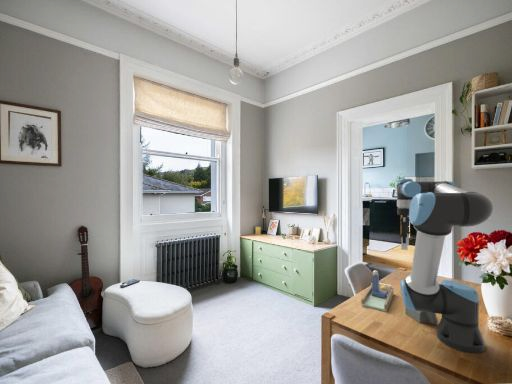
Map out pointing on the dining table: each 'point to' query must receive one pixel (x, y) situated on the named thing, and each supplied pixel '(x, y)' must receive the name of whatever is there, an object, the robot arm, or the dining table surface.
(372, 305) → the pitch
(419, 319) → the digital clock
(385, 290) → the ball
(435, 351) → the dining table surface
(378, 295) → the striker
